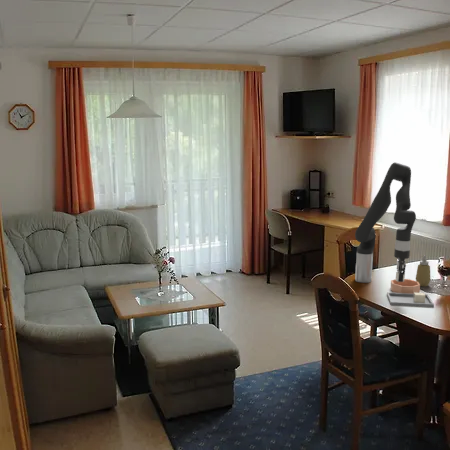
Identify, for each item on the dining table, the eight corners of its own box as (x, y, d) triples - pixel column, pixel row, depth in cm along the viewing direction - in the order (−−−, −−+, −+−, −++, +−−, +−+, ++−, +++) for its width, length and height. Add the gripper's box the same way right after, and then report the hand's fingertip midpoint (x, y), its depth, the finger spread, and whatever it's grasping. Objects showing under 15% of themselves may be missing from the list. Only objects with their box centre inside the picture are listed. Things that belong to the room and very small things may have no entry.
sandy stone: (414, 302, 265) (415, 294, 264) (413, 299, 268) (413, 292, 268) (424, 302, 264) (425, 295, 263) (423, 300, 268) (423, 292, 267)
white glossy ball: (396, 281, 264) (396, 274, 263) (394, 279, 268) (395, 271, 268) (404, 282, 263) (405, 274, 263) (403, 279, 268) (404, 272, 267)
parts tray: (390, 305, 261) (390, 302, 261) (386, 295, 277) (386, 292, 276) (433, 308, 258) (434, 304, 257) (427, 297, 273) (427, 294, 273)
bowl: (393, 294, 279) (393, 285, 278) (389, 286, 293) (389, 278, 292) (421, 296, 276) (421, 287, 275) (415, 287, 290) (416, 279, 289)
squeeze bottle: (429, 283, 297) (431, 254, 294) (430, 287, 290) (432, 257, 286) (415, 282, 300) (417, 253, 297) (415, 286, 292) (417, 256, 289)
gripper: (393, 244, 270) (390, 275, 273) (396, 251, 256) (394, 283, 260) (407, 245, 269) (405, 276, 272) (412, 252, 255) (409, 284, 258)
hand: (399, 280), depth 266 cm, fingers closed on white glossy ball, 4 cm apart
